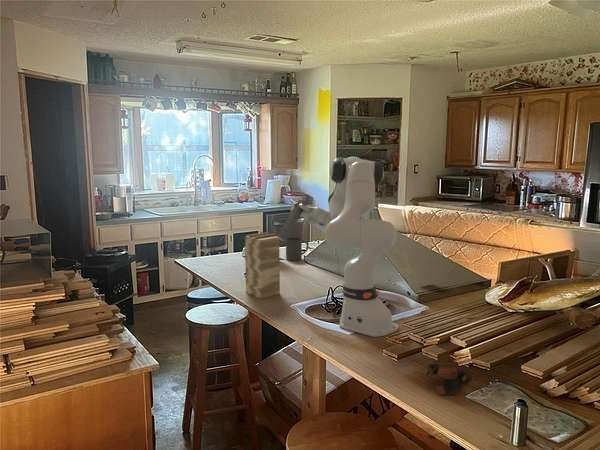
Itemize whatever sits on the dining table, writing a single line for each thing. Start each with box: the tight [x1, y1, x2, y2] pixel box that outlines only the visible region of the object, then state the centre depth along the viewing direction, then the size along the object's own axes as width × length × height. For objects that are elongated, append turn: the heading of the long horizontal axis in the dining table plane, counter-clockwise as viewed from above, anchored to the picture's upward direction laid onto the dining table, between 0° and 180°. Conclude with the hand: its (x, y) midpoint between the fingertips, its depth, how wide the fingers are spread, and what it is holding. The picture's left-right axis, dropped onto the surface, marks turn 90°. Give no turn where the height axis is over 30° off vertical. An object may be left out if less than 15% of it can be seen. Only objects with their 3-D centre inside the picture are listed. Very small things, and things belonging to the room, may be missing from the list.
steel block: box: [277, 199, 308, 242], centre depth 222 cm, size 3×21×3 cm
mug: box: [285, 237, 309, 262], centre depth 280 cm, size 14×9×12 cm
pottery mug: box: [426, 362, 473, 396], centre depth 132 cm, size 12×10×8 cm
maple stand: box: [244, 231, 281, 300], centre depth 214 cm, size 12×10×27 cm
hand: (297, 204), depth 223 cm, fingers closed on steel block, 3 cm apart
